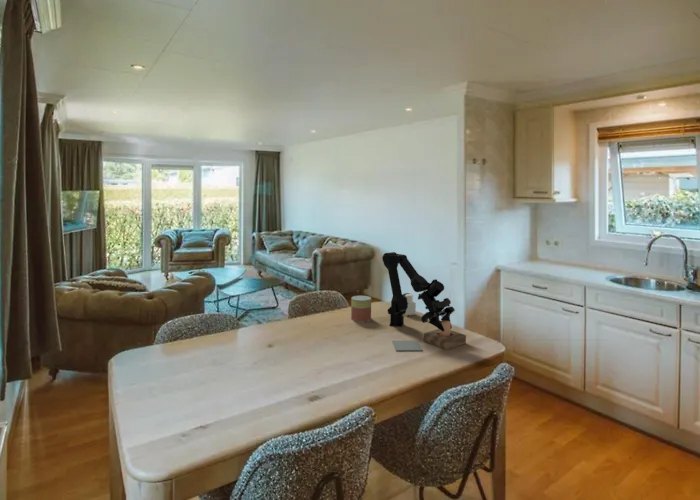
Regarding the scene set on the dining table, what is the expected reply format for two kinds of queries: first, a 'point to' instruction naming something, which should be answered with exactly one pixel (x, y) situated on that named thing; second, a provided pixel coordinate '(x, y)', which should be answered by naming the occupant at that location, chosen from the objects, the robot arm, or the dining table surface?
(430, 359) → the dining table surface
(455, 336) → the pocket block
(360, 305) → the canned food
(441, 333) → the peg
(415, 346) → the pad
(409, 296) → the medicine bottle
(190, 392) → the dining table surface
